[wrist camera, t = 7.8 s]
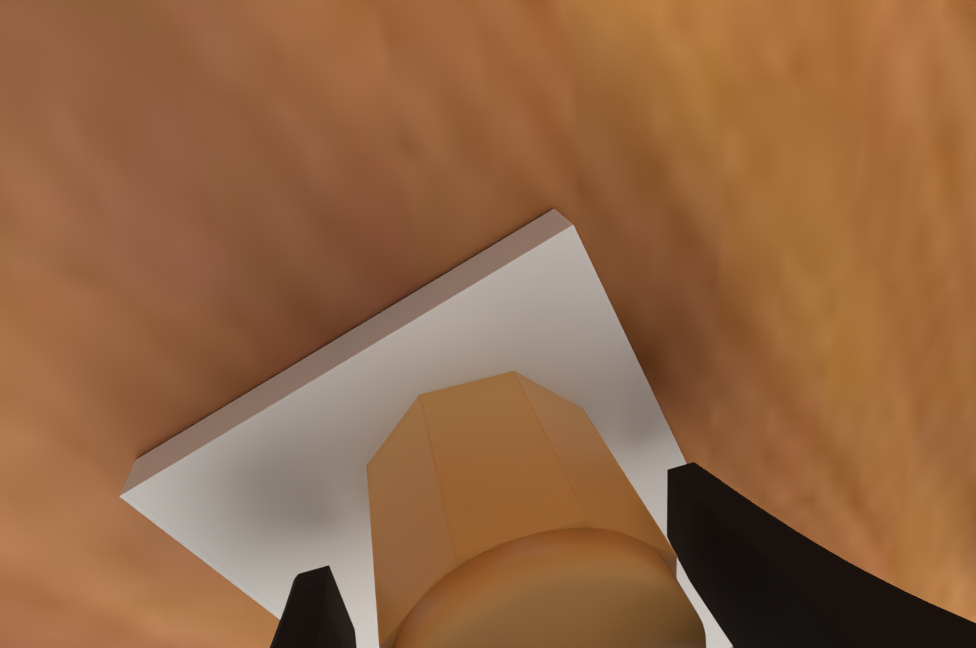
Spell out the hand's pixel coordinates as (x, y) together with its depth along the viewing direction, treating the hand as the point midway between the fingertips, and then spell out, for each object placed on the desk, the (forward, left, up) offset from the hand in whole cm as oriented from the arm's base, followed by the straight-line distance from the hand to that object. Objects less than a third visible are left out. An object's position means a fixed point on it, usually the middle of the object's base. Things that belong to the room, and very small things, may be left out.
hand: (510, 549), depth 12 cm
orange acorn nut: (0, 0, -2) cm, 2 cm away
